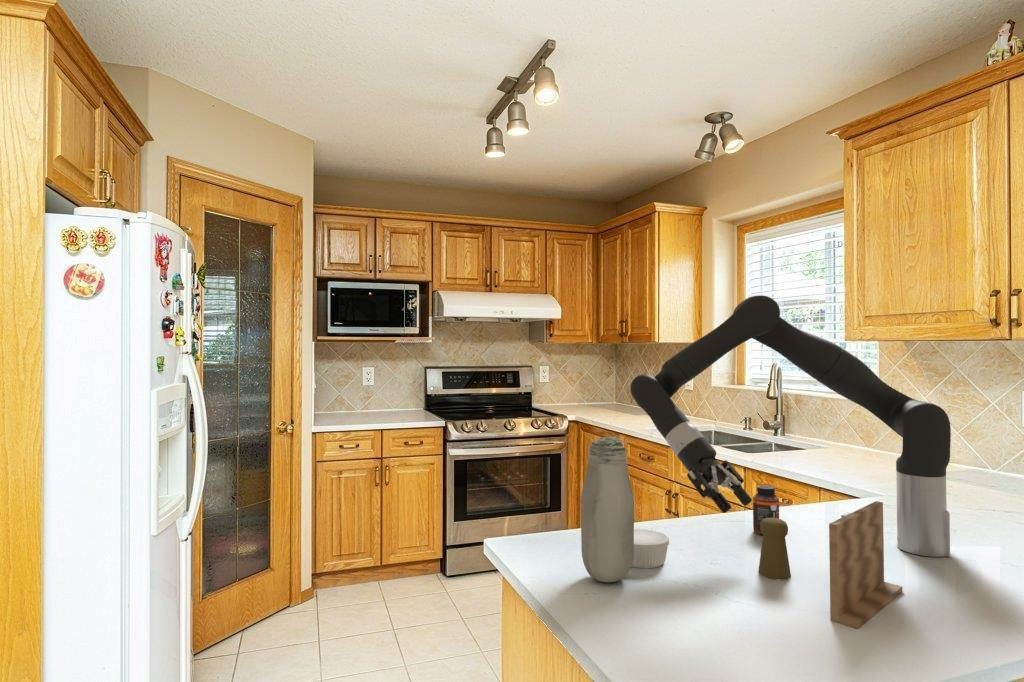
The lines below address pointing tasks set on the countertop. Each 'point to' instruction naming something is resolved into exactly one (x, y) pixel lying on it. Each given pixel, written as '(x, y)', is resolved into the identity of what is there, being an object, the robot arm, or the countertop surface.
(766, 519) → the olive pawn figure
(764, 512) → the supplement bottle
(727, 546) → the countertop surface
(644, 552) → the ramekin
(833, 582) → the shelf wall
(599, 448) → the grey bottle
